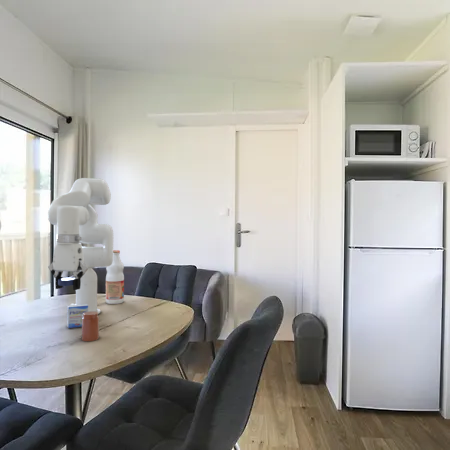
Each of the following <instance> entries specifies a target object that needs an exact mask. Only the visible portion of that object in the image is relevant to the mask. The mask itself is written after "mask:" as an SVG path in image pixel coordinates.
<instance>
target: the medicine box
mask: <svg viewBox="0 0 450 450" xmlns="http://www.w3.org/2000/svg"><path fill="white" fill-rule="evenodd" d="M85 312H88V305H87V304H80V305H71V304H70V305H66V326H67V328H68V329H74V328H82V317H83V313H85Z"/></svg>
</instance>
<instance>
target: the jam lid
mask: <svg viewBox="0 0 450 450" xmlns="http://www.w3.org/2000/svg"><path fill="white" fill-rule="evenodd" d="M73 279H75V277H63V278H60V279H58V285H60V286H63V287H64V286H65V287H68V286H69V287H70V286H71V287H72V286H73Z"/></svg>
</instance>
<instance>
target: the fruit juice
mask: <svg viewBox="0 0 450 450" xmlns="http://www.w3.org/2000/svg"><path fill="white" fill-rule="evenodd" d="M120 253H121V251H120V250H119V249H113V262H112V264H111V265H110V266H107V267H105V270H106V276H105V304H108V305H119V304H123V303H124V301H125V275H124V268H125V266H124V263H123V262H122V260H121V257H120Z"/></svg>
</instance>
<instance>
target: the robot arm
mask: <svg viewBox="0 0 450 450" xmlns="http://www.w3.org/2000/svg"><path fill="white" fill-rule="evenodd" d="M111 199H112V194H111V190H110V187H109V185H108V183H107V181H106V180H105V179H103V178H92V177H80V178H78V179H76V180H75V181H74V182H73V184H72V186H71V189H70V191H69V192H67V193H64V194H62V195H59V196H57V197H56V198H54V199H53V200H52V201H51V204H50V206H49V208H48V211H47V220H48V222H49V224H51V225H53V226H56V243H55V244H54V249H53V256H52V257H53V258H52V262H51V263H50V264H49V265H48V266H47V267H48V269H49V271H50V272H51V274H52V275H53V278H54V279H55V283H54V285H55V290H60V289H62V288H63V287H64V286H60V285H58V279H60V278H64V277H63V276H62V275H63V273H64V272H72V275H73V278H75V279H73V285H72V290H73V291H75V303H70V305H80V304H87V305H88V312H98V315H99V314H101V309H100V308H98V275H97V273H96V271H95V270H94V269H93V268H106V267H107V266H110V265H111V264H112V262H113V250H114V229H113V227H112V226H111V225H110V224H108V223H107V224H106V223H98V212H97V211H96V209H95V208H94V207H93V205H94V206H95V205H97V206H106V205H109V204H110V202H111ZM82 244H84V245H102V246H83V245H82Z"/></svg>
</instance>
